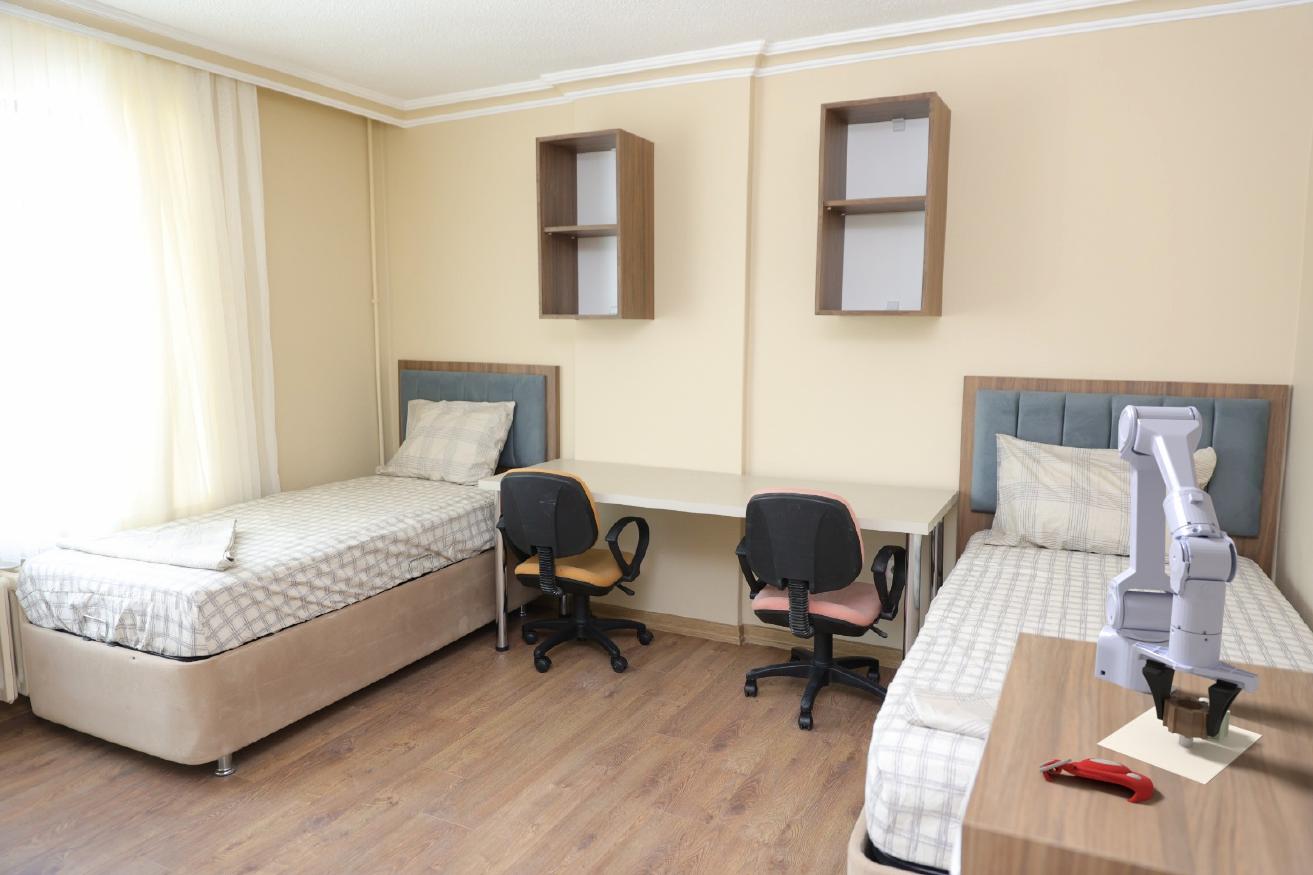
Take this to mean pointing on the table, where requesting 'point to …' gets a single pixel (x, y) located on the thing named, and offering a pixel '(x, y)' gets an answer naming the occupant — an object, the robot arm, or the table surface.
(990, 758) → the table surface
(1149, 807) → the table surface
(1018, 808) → the table surface
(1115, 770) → the red peeler
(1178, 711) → the walnut gear
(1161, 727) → the gear board
